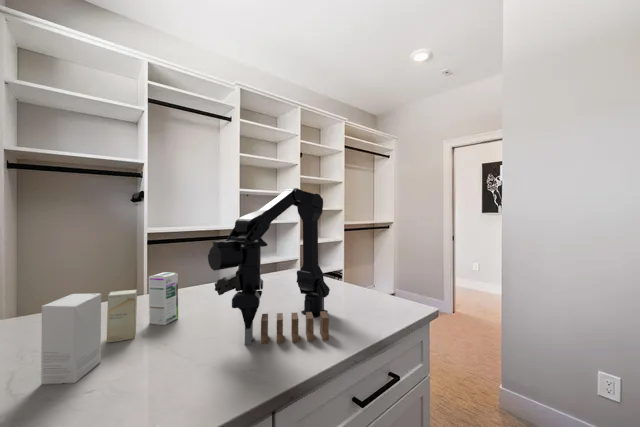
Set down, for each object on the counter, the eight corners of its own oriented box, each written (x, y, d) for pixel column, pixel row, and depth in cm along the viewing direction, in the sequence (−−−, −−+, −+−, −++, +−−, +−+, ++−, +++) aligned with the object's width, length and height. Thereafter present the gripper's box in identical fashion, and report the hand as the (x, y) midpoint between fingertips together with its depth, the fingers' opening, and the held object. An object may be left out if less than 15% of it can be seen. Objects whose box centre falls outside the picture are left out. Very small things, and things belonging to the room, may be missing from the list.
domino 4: (311, 333, 81) (311, 311, 81) (313, 341, 76) (313, 318, 76) (305, 333, 80) (305, 312, 80) (307, 341, 76) (307, 318, 75)
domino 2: (282, 334, 80) (282, 313, 80) (282, 342, 75) (282, 319, 75) (276, 335, 79) (276, 313, 79) (276, 343, 74) (276, 320, 74)
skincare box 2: (106, 343, 73) (106, 295, 73) (109, 336, 77) (109, 291, 77) (135, 338, 76) (135, 292, 76) (137, 332, 80) (137, 288, 80)
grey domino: (252, 336, 79) (253, 303, 78) (251, 345, 74) (251, 309, 74) (246, 336, 78) (247, 303, 78) (244, 345, 73) (245, 310, 73)
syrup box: (165, 325, 85) (165, 276, 85) (148, 323, 86) (148, 275, 86) (178, 318, 91) (178, 272, 91) (162, 317, 92) (162, 271, 92)
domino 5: (325, 332, 81) (325, 311, 81) (328, 340, 76) (328, 317, 76) (320, 332, 81) (320, 311, 81) (322, 340, 76) (322, 318, 76)
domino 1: (267, 335, 79) (268, 313, 79) (267, 343, 74) (267, 320, 74) (262, 335, 79) (262, 313, 79) (260, 344, 74) (260, 320, 74)
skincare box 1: (72, 363, 64) (72, 293, 64) (103, 362, 64) (104, 292, 64) (38, 386, 56) (38, 305, 55) (75, 384, 56) (75, 304, 56)
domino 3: (297, 334, 80) (297, 312, 80) (298, 342, 75) (298, 319, 75) (291, 334, 80) (291, 312, 80) (292, 342, 75) (292, 319, 75)
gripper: (224, 259, 84) (224, 312, 84) (208, 272, 65) (208, 341, 66) (263, 258, 85) (263, 311, 86) (258, 271, 67) (258, 338, 67)
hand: (249, 323), depth 76 cm, fingers open, 6 cm apart
